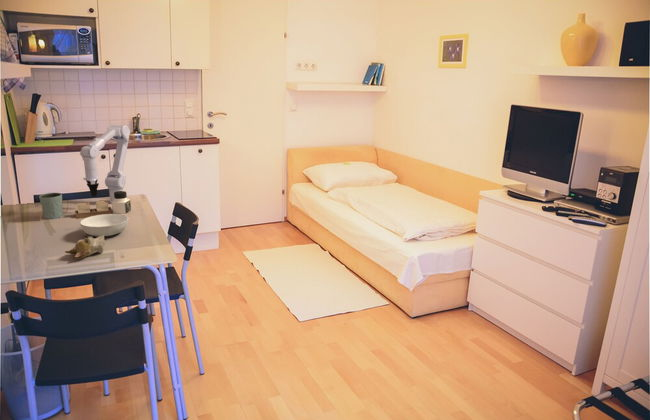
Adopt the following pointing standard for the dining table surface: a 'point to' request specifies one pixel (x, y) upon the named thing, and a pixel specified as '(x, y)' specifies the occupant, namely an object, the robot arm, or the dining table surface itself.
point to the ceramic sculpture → (87, 247)
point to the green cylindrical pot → (52, 205)
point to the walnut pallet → (92, 213)
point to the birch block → (83, 207)
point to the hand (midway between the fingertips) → (93, 194)
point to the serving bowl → (104, 224)
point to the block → (102, 206)
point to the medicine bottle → (121, 203)
